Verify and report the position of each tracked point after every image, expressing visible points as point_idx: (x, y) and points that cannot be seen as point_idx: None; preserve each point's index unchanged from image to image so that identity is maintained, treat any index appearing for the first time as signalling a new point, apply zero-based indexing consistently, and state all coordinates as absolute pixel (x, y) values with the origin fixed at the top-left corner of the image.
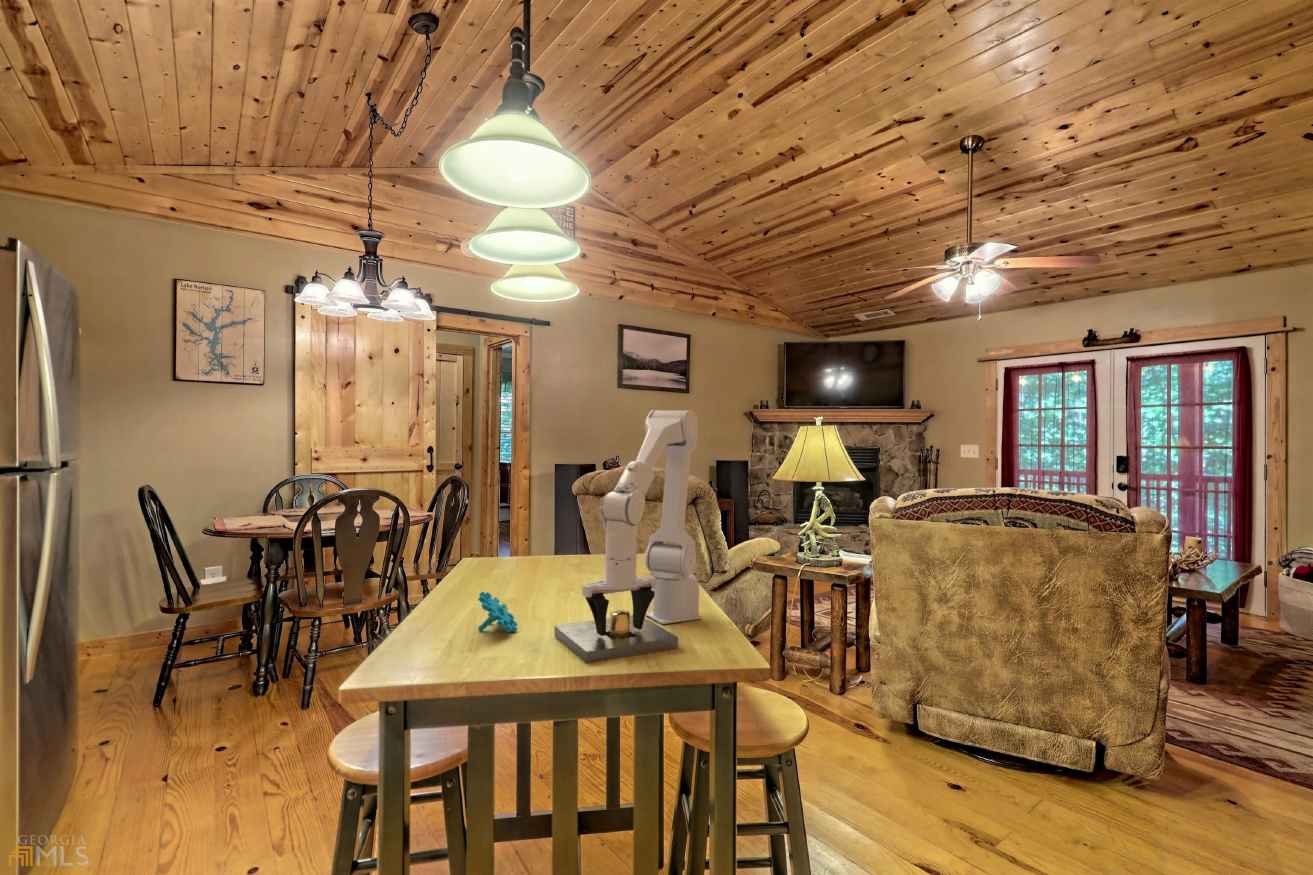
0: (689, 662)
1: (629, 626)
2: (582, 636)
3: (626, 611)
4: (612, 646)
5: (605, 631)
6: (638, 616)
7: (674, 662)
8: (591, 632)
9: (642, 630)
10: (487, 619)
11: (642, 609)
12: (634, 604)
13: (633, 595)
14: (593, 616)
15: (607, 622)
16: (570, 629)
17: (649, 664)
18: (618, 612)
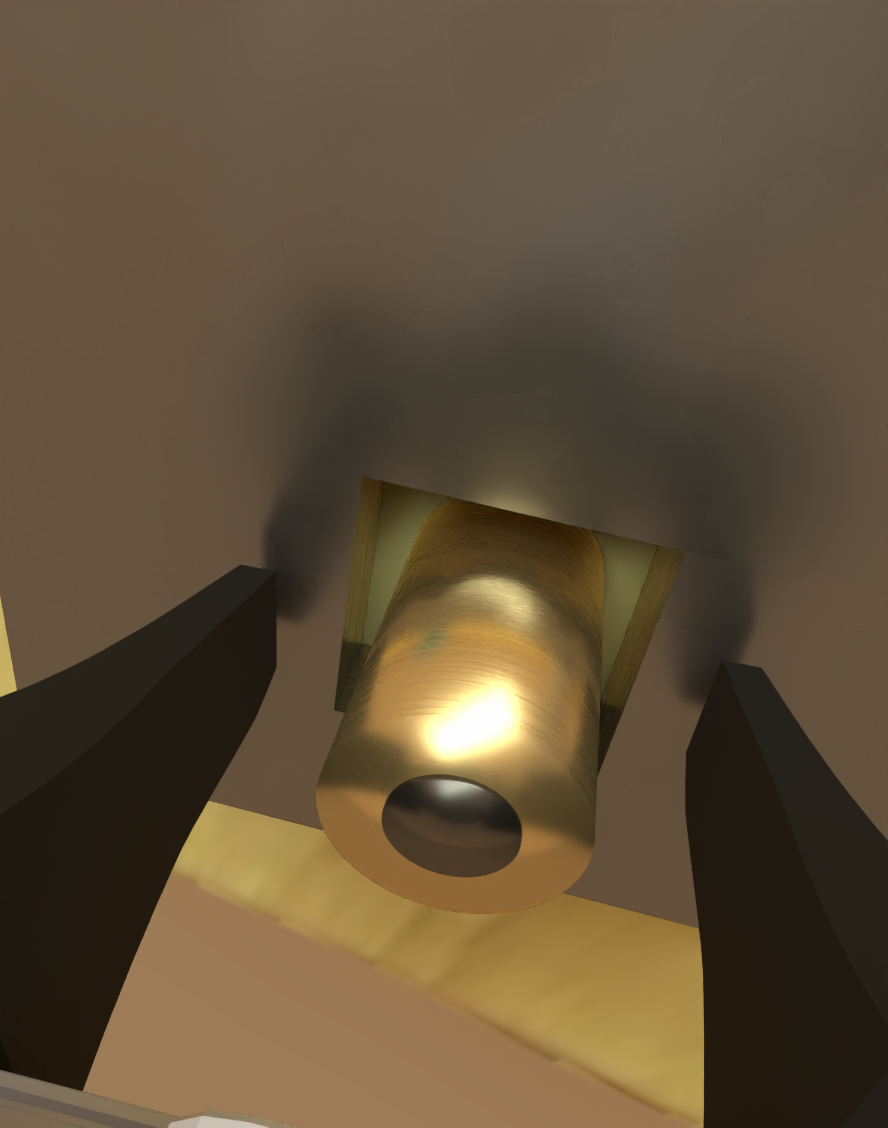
0: (662, 1024)
1: (792, 516)
2: (110, 455)
3: (565, 843)
4: (254, 794)
5: (258, 703)
6: (714, 852)
7: (588, 979)
8: (255, 406)
9: (783, 700)
10: None
11: (712, 1008)
12: (782, 890)
13: (821, 1018)
14: (106, 651)
15: (695, 162)
16: (49, 123)
17: (437, 915)
18: (423, 829)
